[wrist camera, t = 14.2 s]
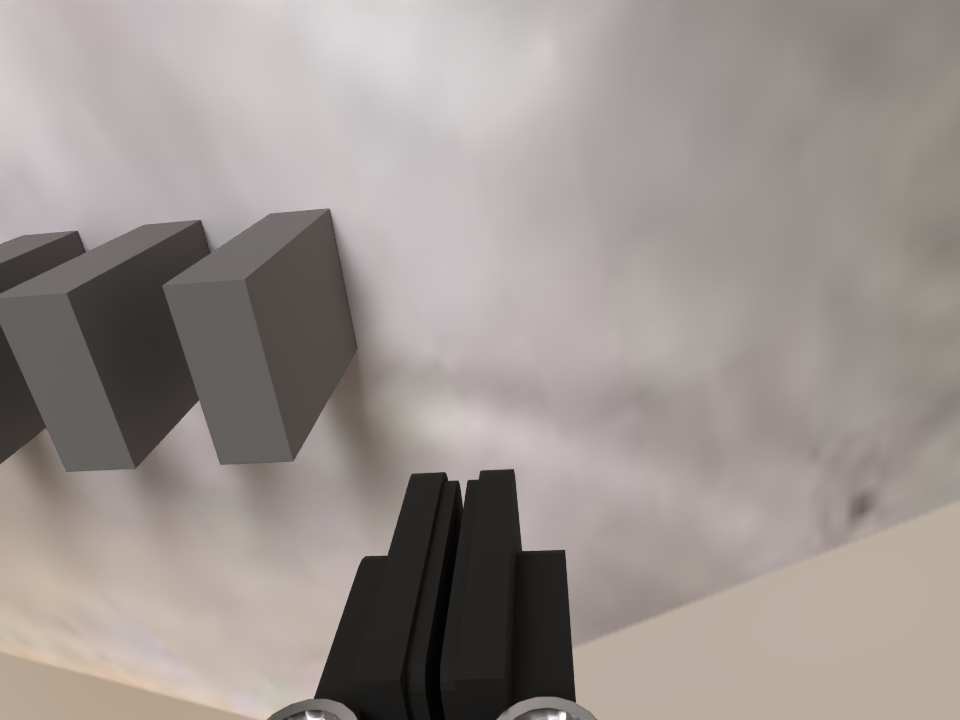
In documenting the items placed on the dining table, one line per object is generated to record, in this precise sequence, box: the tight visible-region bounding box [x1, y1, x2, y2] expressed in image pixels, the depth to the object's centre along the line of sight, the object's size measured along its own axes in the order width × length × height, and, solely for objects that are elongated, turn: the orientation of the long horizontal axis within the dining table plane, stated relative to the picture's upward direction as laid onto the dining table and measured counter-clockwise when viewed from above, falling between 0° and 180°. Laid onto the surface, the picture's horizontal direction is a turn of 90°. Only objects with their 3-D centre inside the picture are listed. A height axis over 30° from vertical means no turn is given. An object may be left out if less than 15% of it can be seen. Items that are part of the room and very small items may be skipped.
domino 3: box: [162, 209, 357, 465], centre depth 19 cm, size 2×5×7 cm, turn 5°
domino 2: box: [0, 220, 210, 472], centre depth 20 cm, size 2×5×7 cm, turn 6°
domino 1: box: [0, 231, 85, 464], centre depth 20 cm, size 2×5×7 cm, turn 6°
